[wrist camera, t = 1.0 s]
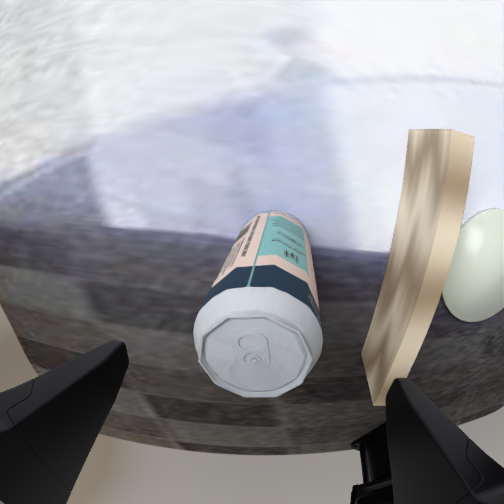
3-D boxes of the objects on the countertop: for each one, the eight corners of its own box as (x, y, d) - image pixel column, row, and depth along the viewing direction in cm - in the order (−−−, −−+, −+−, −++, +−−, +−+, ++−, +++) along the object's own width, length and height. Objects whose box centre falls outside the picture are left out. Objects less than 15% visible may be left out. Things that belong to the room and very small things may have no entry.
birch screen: (377, 354, 23) (391, 405, 18) (361, 353, 23) (373, 405, 18) (428, 134, 17) (474, 136, 11) (409, 129, 17) (451, 129, 11)
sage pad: (471, 335, 22) (474, 339, 21) (417, 276, 20) (420, 279, 20) (537, 258, 18) (540, 261, 18) (495, 181, 17) (499, 183, 16)
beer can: (244, 276, 22) (202, 403, 11) (235, 212, 20) (170, 304, 9) (311, 271, 21) (323, 403, 10) (306, 205, 20) (324, 296, 9)
